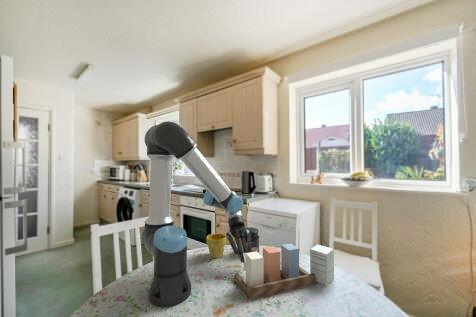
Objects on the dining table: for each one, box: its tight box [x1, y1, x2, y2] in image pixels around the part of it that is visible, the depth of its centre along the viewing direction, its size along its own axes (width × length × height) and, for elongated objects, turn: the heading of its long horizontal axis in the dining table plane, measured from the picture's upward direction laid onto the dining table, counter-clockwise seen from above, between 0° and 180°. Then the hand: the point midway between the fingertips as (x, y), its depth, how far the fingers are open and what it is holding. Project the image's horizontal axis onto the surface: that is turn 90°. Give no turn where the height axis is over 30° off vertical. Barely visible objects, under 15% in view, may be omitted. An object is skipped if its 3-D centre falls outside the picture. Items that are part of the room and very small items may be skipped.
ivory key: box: [245, 252, 264, 287], centre depth 85 cm, size 5×6×12 cm
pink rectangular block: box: [262, 245, 282, 282], centre depth 90 cm, size 5×6×12 cm
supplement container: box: [240, 226, 260, 254], centre depth 117 cm, size 10×10×12 cm
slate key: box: [280, 243, 300, 278], centre depth 93 cm, size 5×6×12 cm
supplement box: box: [309, 244, 335, 286], centre depth 91 cm, size 7×7×13 cm
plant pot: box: [205, 233, 227, 259], centre depth 113 cm, size 10×10×10 cm
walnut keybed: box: [234, 265, 316, 301], centre depth 88 cm, size 29×14×4 cm, turn 110°
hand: (247, 269), depth 91 cm, fingers closed
